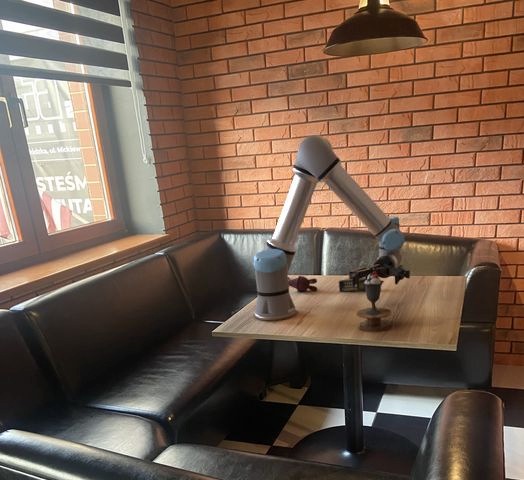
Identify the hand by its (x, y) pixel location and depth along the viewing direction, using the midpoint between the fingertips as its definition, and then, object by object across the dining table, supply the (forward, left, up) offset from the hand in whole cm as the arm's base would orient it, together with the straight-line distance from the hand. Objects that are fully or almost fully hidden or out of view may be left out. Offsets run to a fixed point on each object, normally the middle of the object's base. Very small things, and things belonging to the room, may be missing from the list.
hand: (374, 280), depth 173 cm
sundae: (+3, -2, -10) cm, 11 cm away
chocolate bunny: (-56, -3, -15) cm, 58 cm away
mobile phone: (-41, +16, -15) cm, 46 cm away
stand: (+3, -2, -15) cm, 15 cm away
